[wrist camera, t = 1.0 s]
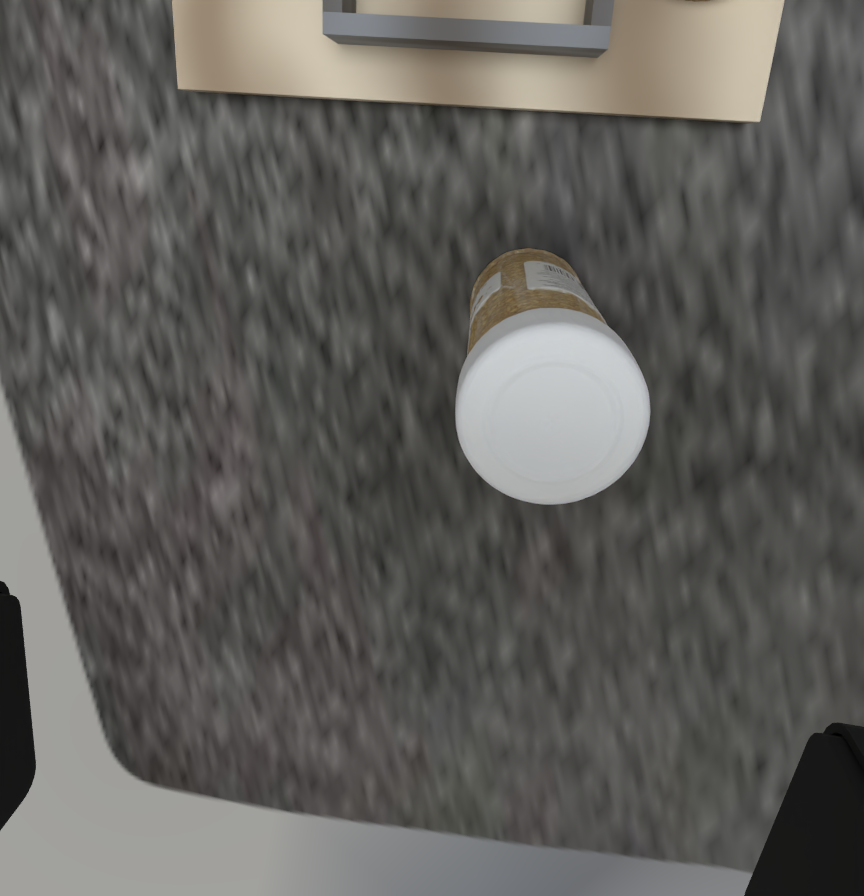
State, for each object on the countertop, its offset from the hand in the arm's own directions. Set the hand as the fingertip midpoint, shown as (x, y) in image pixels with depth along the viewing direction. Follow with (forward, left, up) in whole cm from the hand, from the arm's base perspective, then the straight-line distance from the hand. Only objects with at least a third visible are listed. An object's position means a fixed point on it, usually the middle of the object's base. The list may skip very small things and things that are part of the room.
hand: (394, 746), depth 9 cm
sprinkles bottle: (-2, -1, -23) cm, 23 cm away
